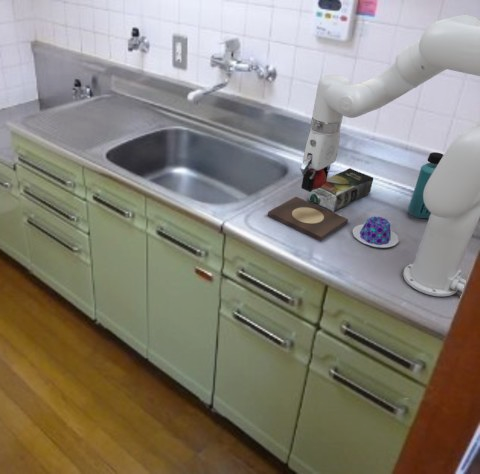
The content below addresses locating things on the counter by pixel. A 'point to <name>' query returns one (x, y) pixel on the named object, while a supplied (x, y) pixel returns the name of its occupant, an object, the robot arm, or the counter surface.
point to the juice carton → (342, 189)
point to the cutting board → (308, 218)
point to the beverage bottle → (417, 200)
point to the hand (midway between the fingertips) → (313, 185)
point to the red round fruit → (318, 178)
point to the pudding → (376, 233)
